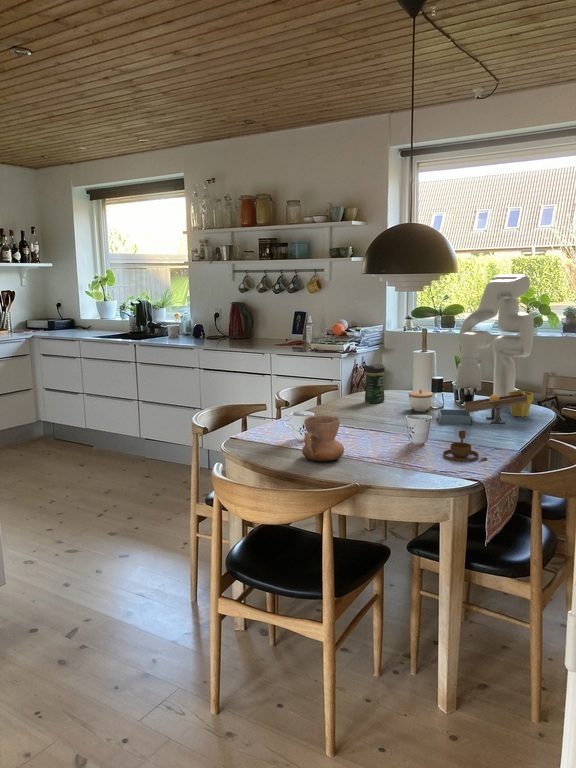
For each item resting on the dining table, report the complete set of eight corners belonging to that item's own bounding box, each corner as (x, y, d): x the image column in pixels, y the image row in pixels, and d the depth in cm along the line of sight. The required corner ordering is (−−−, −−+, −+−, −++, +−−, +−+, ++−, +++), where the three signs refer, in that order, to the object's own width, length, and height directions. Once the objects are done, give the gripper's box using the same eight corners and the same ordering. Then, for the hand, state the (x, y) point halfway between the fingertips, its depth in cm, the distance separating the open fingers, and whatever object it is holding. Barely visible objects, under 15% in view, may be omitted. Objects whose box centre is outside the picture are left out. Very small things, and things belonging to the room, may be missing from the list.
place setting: (428, 457, 217) (428, 441, 216) (459, 445, 231) (459, 429, 230) (474, 467, 205) (474, 450, 204) (503, 454, 218) (504, 437, 217)
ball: (487, 394, 262) (497, 392, 262) (489, 403, 263) (499, 402, 262) (489, 396, 258) (499, 394, 258) (491, 405, 259) (500, 404, 258)
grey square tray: (437, 417, 272) (438, 409, 271) (466, 417, 270) (467, 409, 269) (440, 423, 260) (440, 415, 259) (470, 424, 258) (470, 416, 257)
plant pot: (503, 412, 277) (504, 391, 275) (526, 412, 277) (527, 390, 275) (512, 418, 266) (513, 395, 265) (536, 417, 267) (537, 395, 265)
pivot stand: (486, 417, 268) (486, 399, 266) (500, 418, 267) (501, 399, 266) (490, 424, 257) (490, 405, 255) (505, 424, 256) (506, 405, 254)
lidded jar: (430, 407, 291) (431, 387, 289) (433, 412, 280) (434, 392, 279) (407, 407, 292) (407, 387, 290) (409, 412, 281) (409, 392, 280)
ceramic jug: (322, 449, 228) (320, 411, 225) (354, 455, 218) (353, 416, 216) (289, 462, 215) (287, 422, 212) (322, 469, 205) (321, 427, 202)
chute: (463, 404, 275) (462, 396, 274) (520, 395, 270) (519, 387, 270) (467, 412, 260) (466, 404, 259) (527, 403, 255) (526, 394, 255)
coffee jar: (374, 404, 299) (374, 366, 296) (362, 402, 305) (362, 364, 301) (387, 401, 305) (387, 364, 302) (375, 399, 311) (375, 362, 308)
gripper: (486, 360, 270) (484, 401, 273) (450, 360, 273) (449, 401, 276) (488, 362, 263) (487, 405, 266) (452, 362, 265) (451, 404, 269)
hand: (467, 403), depth 271 cm, fingers closed
